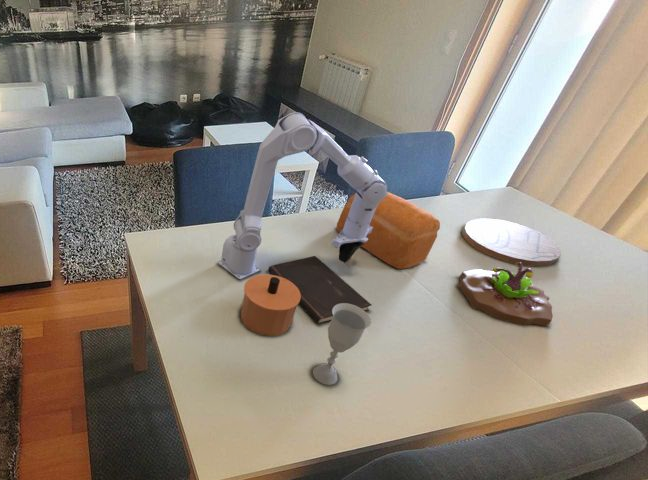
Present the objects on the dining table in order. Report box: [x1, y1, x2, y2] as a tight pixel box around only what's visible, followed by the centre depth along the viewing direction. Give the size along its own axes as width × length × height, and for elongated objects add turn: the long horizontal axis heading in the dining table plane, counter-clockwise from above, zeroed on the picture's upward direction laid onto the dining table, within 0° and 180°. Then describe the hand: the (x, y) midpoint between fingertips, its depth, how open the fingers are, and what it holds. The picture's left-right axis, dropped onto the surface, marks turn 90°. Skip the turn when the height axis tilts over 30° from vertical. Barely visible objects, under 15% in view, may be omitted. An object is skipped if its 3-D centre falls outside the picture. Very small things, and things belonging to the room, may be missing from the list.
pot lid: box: [243, 274, 301, 311], centre depth 95 cm, size 13×13×5 cm
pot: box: [240, 292, 298, 337], centre depth 99 cm, size 12×12×8 cm
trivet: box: [461, 218, 562, 267], centre depth 128 cm, size 25×25×2 cm
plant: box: [458, 262, 553, 327], centre depth 103 cm, size 20×20×11 cm
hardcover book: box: [267, 255, 372, 325], centre depth 109 cm, size 16×23×2 cm
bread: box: [335, 191, 441, 270], centre depth 123 cm, size 14×26×16 cm, turn 24°
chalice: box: [312, 303, 372, 386], centre depth 82 cm, size 7×7×18 cm
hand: (343, 260), depth 114 cm, fingers closed
